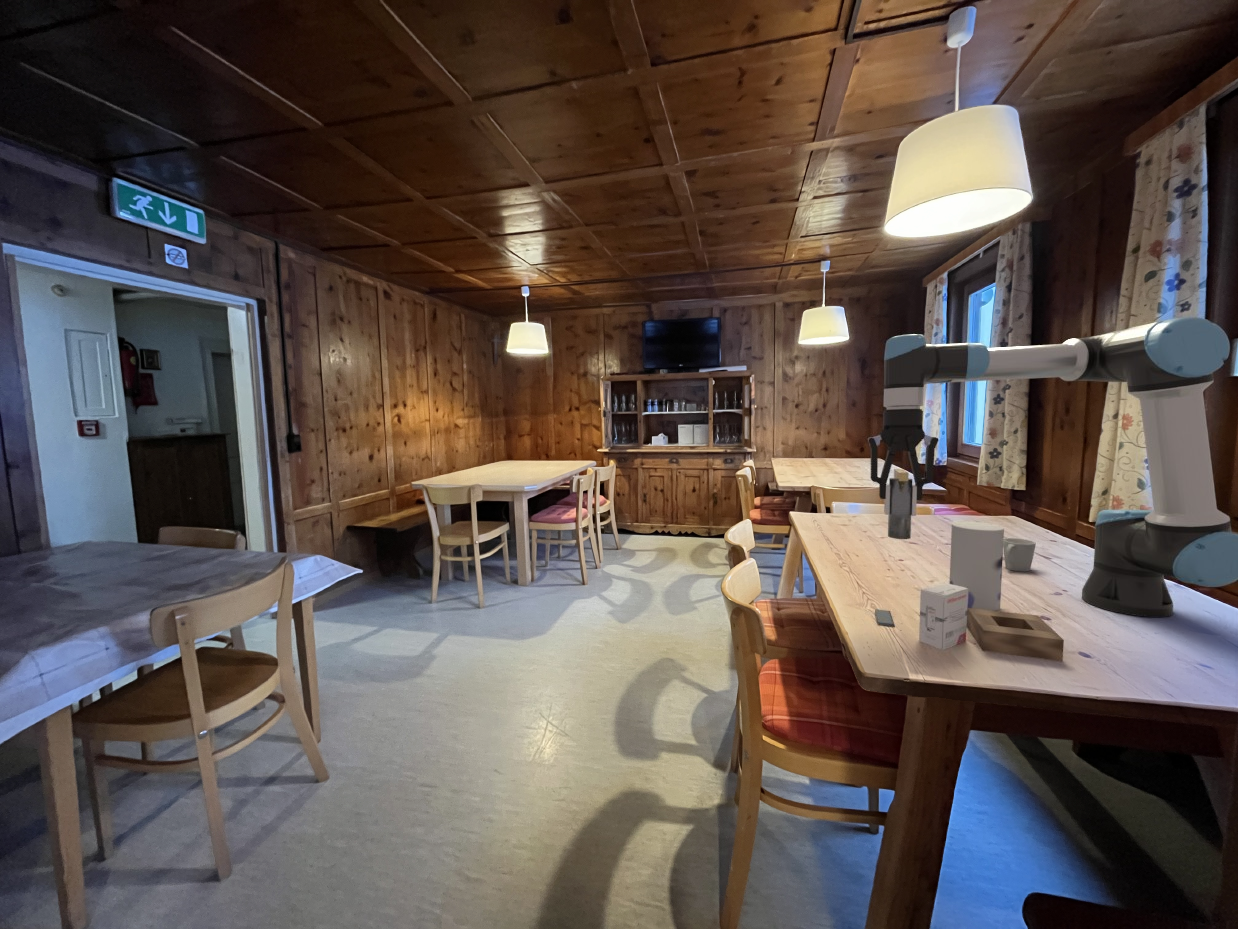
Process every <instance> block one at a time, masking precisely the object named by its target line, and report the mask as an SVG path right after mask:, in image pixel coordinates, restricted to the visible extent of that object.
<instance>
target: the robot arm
mask: <svg viewBox="0 0 1238 929" xmlns="http://www.w3.org/2000/svg"><path fill="white" fill-rule="evenodd" d="M1230 349H1231V344H1230V340H1229V337H1228V335H1227V333H1226V332H1225V331H1224V330H1223V328H1221V326H1219V325H1218V324H1216V323H1214V322H1212V321H1210V320H1209V319H1206V318H1202V317H1197V316H1187V317H1179V318H1178V317H1177V318H1175V317H1174V318H1167V319H1164V320H1160V321H1155V322H1152V323H1147V324H1142V325H1137V326H1132V327H1128V328H1122V329H1119V330H1114V331H1111V332H1105V333H1101V334H1098V335H1097V334H1096V335H1093V336H1092V335H1091V336H1088V337H1078V338H1070V339H1067V340H1065V341H1064V342H1063V343H1058V344H1055V343H1054V344H1042V345H1040V344H1038V345H1024V346H1023V345H1021V346H1006V347H1005V346H1004V347H988V346H986V345H985V344H983V343H979V342H975V343H974V342H965V343H964V342H963V343H962V342H961V343H944V344H930V343H927V340H926V337H925V335H924V334H915V333H913V334H911V333H910V334H902V335H896V336H892V337H890V338H889V339H887V340H886V343H885V349H884V358H883V361H884V365H883V366H884V368H883V369H884V372H883V374H884V375H883V376H884V377H883V378H884V379H883V380H884V382H883V383H884V384H883V386H884V387H883V407H884V408H886V409H884V411H883V414H882V430H881V431H880V434H879V435H878V434H877V435H876V436H873V437H871V436H870V437H868V438H867V443H868V445H869V447H870V480H871V481H872V482H873V483H876V484H878V486H879V488H878V492H879V493H878V496H879V498H880V500H884V501H883V502H884V503H883V506H884V507H883V509H884V510H883V514H885V516H886V515H889V511H890V485H889V483H887V482H888V481H889V480H888V479H889V476H890V472H891V469H892V465H893V462H894V459H895V458H894V457H895V455H896V452H901V451H904V452H907V454H908V459H909V462H910V463H909V464H910V466H911V467H910V468H911V471H912V476H913V480H914V484H912V508H911V517H916V516H917V501H922V500H923V489H924V488H923V487H924V485H927V484H932V483H933V482H934V467H935V450H936V447H937V444H938V443H939V438H938V437H934V436H930V435H928V434H926V433H925V431H924V428H923V427H924V426H923V424H924V423H923V421H924V410H923V409H922V408H921V407H923V406H924V388H925V385H927V384H945V383H962V382H983V381H1005V380H1025V379H1043V378H1044V379H1045V378H1047V379H1048V378H1050V379H1051V378H1060V379H1061V380H1063V381H1065V382H1073V381H1074V382H1078V381H1082V382H1083V381H1086V382H1087V381H1088V382H1105V383H1107V382H1111V383H1126V385H1127V392H1128V394H1130V395H1131V396H1133V397H1135V398H1136V399H1138V401H1139V404H1140V409H1141V410H1140V413H1141V419H1142V427H1143V428H1142V429H1143V435H1144V443H1145V450H1146V458H1147V459H1146V460H1147V467H1148V475H1149V482H1150V489H1151V495H1152V496H1151V498H1152V505H1153V506H1152V507H1153V509H1151V510H1149V509H1148V510H1147V509H1102V510H1100V511H1099V512H1098V514H1097V515H1096V521H1095V524H1094V526H1095V532H1094V534H1095V535H1094V550H1093V551H1094V552H1093V554H1094V555H1093V568H1092V571H1091V572H1090V574H1089V575H1088V578H1087V579H1086V581H1085V583H1084V585H1083V587H1082V589H1081V599H1082V600H1083V601H1084V602H1085V603H1088V604H1090V605H1092V606H1095V607H1097V608H1101V609H1104V610H1108V611H1110V612H1116V613H1122V614H1126V615H1132V616H1136V617H1137V616H1139V617H1147V618H1148V617H1149V618H1165V617H1171V616H1172V615H1173V614H1174V603H1173V599H1172V597H1171V594H1170V591H1169V589H1168V587H1167V584H1166V581H1165V576H1166V577H1169V578H1172V579H1173V578H1174V579H1176V580H1179V581H1181V582H1183V583H1186V584H1191V585H1196V586H1200V587H1201V586H1202V587H1205V588H1218V587H1219V588H1220V587H1223V586H1227V585H1231V584H1233V583H1235V582H1237V581H1238V534H1237V533H1235V532H1233V531H1232V526H1231V518H1230V516H1229V515H1227V514H1226V513H1224V512H1222V511H1221V510H1219V509H1218V506H1217V498H1216V491H1215V482H1214V473H1213V467H1212V466H1213V465H1212V459H1211V458H1212V457H1211V449H1210V441H1209V432H1208V426H1207V425H1208V424H1207V418H1206V417H1207V416H1206V408H1205V399H1204V391H1205V390H1206V389H1207V388H1208V387H1209V386H1210V385H1211V384H1213V383H1214V372H1216V371H1217V370H1219V369H1220V368H1221V367H1222V366H1223V365H1224V364H1225V363H1224V361H1226V360H1227V359H1228V357H1229V355H1230V351H1231V350H1230ZM923 440H924V445H925V446H926V447H925V460H924V461H925V462H924V475H923V476H924V477H922V471H921V468H920V463H919V460H918V455H917V454H918V453H917V447H918V445H919V444H920V443H921V442H922V441H923ZM881 441H883V443H884V444H885V445H886V446H887V447H888V448H887V452H886V457H885V460H884V462H883V463H884V464H883V467H882V470H881V474H880V477H879V475H878V471H879V470H878V464H879V463H878V462H879V461H878V460H879V459H878V458H879V456H878V453H879V452H878V446H880V444H881Z"/></svg>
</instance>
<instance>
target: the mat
mask: <svg viewBox="0 0 1238 929" xmlns="http://www.w3.org/2000/svg"><path fill="white" fill-rule="evenodd" d="M874 613H875V616H876V621H877V625H879V626H885V627H894V628H895V627H896V625H895V622H894V618H893V616H892V613H891V611H890V610H886V609H885V610H884V609H878V608H877V609H876V608H875V609H874Z"/></svg>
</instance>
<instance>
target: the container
mask: <svg viewBox="0 0 1238 929" xmlns="http://www.w3.org/2000/svg"><path fill="white" fill-rule="evenodd" d="M1004 535H1005V528H1004V527H1003V526H1001V525H998V524H993V523H988V522H982V521H981V522H980V521H965V520H964V521H954V522H952V523H951V534H950V558H949V559H950V562H949V584H952V585H957V586H961V587H965V588H967V589H968V607H967V608H973V609H982V610H992V611H999V610H1000V609H1001V601H1002V600H1001V597H1002V581H1003V580H1002V578H1003V577H1002V576H1003V558H1004V549H1003V540H1004V539H1005V537H1004Z"/></svg>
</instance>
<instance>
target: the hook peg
mask: <svg viewBox="0 0 1238 929" xmlns="http://www.w3.org/2000/svg"><path fill="white" fill-rule="evenodd" d="M909 475H910V474H909V472H908V471H907V470H905V469H903V468H894V469H893V477H890V478H889V477H888V479H889V480H888V481H889V482H888V484H889V485H890V511H889V515H888V516H887V517H888V519H887V520H888V521H887V523H888V524H887V537H889V538H892V539H894V540H896V539H897V540H909V539H910V540H911V537H912V536H911V534H912V533H911V532H912V515H911V508H912V485H913V478H910V477H909Z"/></svg>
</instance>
